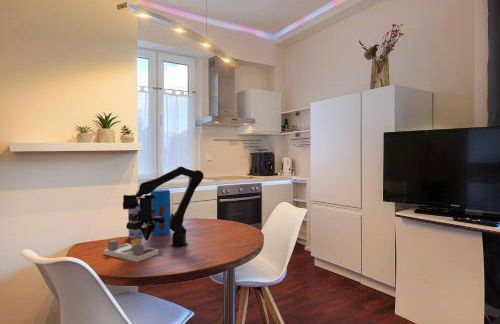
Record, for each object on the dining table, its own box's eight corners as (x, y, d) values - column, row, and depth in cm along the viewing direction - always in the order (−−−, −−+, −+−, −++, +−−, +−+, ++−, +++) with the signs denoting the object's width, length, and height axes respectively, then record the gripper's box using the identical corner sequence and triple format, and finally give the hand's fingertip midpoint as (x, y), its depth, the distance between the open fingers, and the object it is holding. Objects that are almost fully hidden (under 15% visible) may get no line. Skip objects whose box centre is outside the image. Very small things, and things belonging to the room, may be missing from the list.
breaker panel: (125, 247, 152) (125, 236, 152) (158, 253, 141) (158, 241, 141) (103, 254, 142) (103, 241, 142) (137, 261, 131) (136, 248, 131)
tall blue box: (171, 234, 176) (171, 190, 176) (151, 236, 172) (151, 191, 172) (169, 230, 186) (168, 189, 186) (150, 232, 182) (149, 190, 182)
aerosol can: (140, 238, 170) (140, 201, 169) (126, 238, 169) (125, 201, 169) (145, 234, 178) (144, 199, 177) (131, 234, 177) (130, 199, 177)
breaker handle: (136, 245, 146) (136, 238, 146) (141, 246, 145) (141, 239, 145) (131, 247, 144) (131, 239, 144) (136, 248, 142) (135, 240, 142)
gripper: (149, 204, 161) (149, 234, 161) (118, 209, 145) (118, 243, 145) (164, 205, 156) (165, 236, 156) (134, 211, 139) (135, 246, 140)
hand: (146, 240), depth 149 cm, fingers closed
